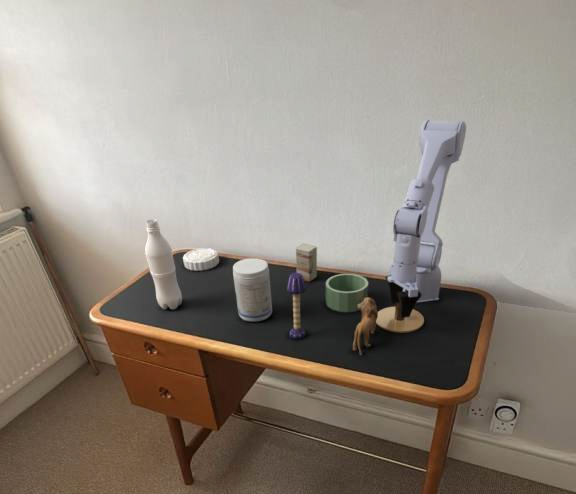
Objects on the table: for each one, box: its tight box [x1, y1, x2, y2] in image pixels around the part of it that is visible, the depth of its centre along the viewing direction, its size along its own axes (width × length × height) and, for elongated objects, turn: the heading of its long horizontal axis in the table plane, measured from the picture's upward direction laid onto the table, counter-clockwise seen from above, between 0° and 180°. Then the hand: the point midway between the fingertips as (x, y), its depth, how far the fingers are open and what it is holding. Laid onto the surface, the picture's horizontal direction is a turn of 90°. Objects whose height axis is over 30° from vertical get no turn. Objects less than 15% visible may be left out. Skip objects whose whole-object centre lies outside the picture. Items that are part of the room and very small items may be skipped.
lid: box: [376, 302, 425, 334], centre depth 121 cm, size 13×13×5 cm
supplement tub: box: [232, 257, 273, 323], centre depth 125 cm, size 10×10×15 cm
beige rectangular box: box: [295, 243, 318, 283], centre depth 143 cm, size 5×4×10 cm
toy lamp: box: [286, 272, 307, 340], centre depth 115 cm, size 5×5×17 cm
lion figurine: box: [352, 296, 379, 356], centre depth 114 cm, size 15×5×9 cm, turn 168°
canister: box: [325, 273, 369, 313], centre depth 130 cm, size 12×12×6 cm
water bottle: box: [144, 218, 183, 310], centre depth 129 cm, size 7×7×25 cm
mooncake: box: [182, 247, 220, 272], centre depth 158 cm, size 12×12×4 cm
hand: (400, 309), depth 120 cm, fingers open, 7 cm apart
